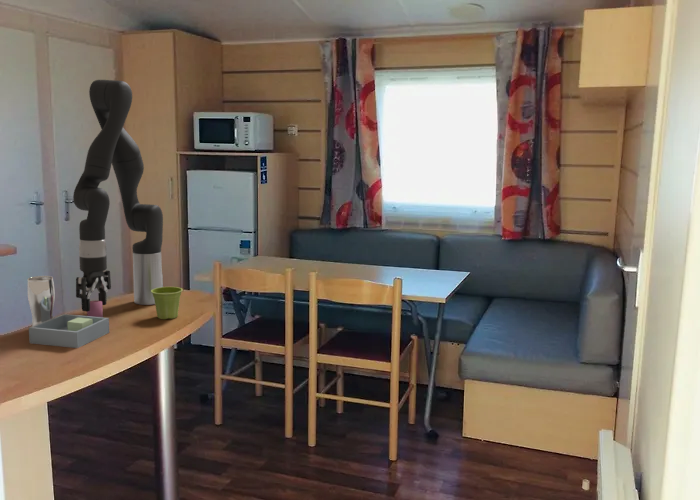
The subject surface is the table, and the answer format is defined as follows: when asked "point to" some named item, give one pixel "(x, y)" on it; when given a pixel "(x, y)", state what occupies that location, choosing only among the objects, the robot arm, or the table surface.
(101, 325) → the tub
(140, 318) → the table surface
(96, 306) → the plum cylinder
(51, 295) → the beer glass
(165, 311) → the plant pot
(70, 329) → the sage block
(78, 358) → the table surface
